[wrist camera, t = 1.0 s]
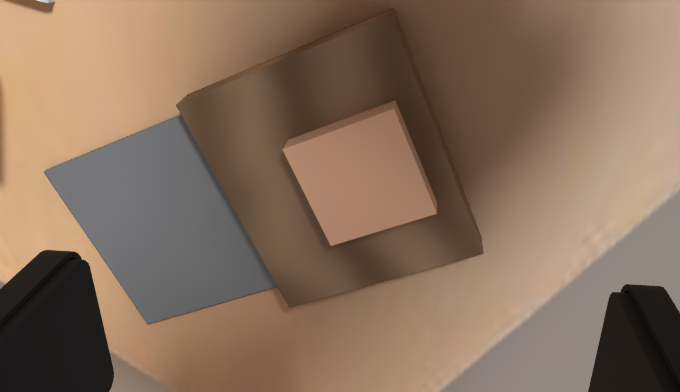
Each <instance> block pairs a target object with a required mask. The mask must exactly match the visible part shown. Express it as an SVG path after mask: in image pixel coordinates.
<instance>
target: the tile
mask: <svg viewBox="0 0 680 392" xmlns="http://www.w3.org/2000/svg"><path fill="white" fill-rule="evenodd" d="M282 150H283V152H284V154H285V156H286V158H287V160H288V162H289V164H290V166H291V168H292V170H293V172H294V174H295V176H296V178H297V180H298V182H299V184H300V186H301V188H302V190H303V192H304V194H305V196H306V198H307V200H308V202H309V204H310V206H311V208H312V210H313V212H314V214H315V216H316V218H317V220H318V222H319V224H320V226H321V228H322V230H323V232H324V234H325V236H326V238H327V240H328V241H329V243H330V245H331V246H332V245H336V244H339V243H342V242H346V241H349V240H352V239H355V238H359V237H362V236H365V235H369V234H372V233H375V232H378V231H382V230H385V229H388V228H392V227H395V226H398V225H401V224H405V223H408V222H411V221H415V220H418V219H421V218H424V217H428V216H431V215H434V214H437V201H436V198H435V196H434V193H433V191H432V189H431V186H430V184H429V181H428V179H427V176H426V174H425V171H424V169H423V166H422V164H421V161H420V159H419V157H418V154H417V152H416V149H415V147H414V144H413V142H412V139H411V137H410V134H409V132H408V130H407V127H406V125H405V122H404V120H403V117H402V115H401V112H400V110H399V107H398V105H397V103H396V100H394V101H391V102H389V103H386V104H383V105H381V106H378V107H375V108H373V109H370V110H367V111H365V112H362V113H359V114H356V115H354V116H351V117H348V118H346V119H343V120H340V121H338V122H335V123H332V124H329V125H327V126H324V127H321V128H319V129H316V130H313V131H311V132H308V133H305V134H303V135H300V136H297V137H294V138H292V139H289V140H287V142H286V144H285V146H284V148H283V149H282Z"/></svg>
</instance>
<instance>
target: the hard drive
mask: <svg viewBox="0 0 680 392" xmlns="http://www.w3.org/2000/svg"><path fill="white" fill-rule="evenodd" d="M36 1H40V2H44V3H52V2H55V0H36Z"/></svg>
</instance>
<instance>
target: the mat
mask: <svg viewBox="0 0 680 392" xmlns="http://www.w3.org/2000/svg"><path fill="white" fill-rule="evenodd" d="M44 173H45V175H46V176H47V178H48V179H49V181H50V182H51V184H52V185H53V187H54V188H55V189H56V191H57V192H58V194H59V195H60V197H61V198H62V200H63V201H64V203H65V204H66V206H67V207H68V208H69V210H70V211H71V213H72V214H73V216H74V217H75V219H76V220H77V222H78V223H79V225H80V226H81V227H82V229H83V230H84V232H85V233H86V235H87V236H88V238H89V239H90V241H91V242H92V244H93V245H94V246H95V248H96V249H97V251H98V252H99V254H100V255H101V257H102V258H103V260H104V261H105V263H106V264H107V266H108V267H109V268H110V270H111V271H112V273H113V274H114V276H115V277H116V279H117V280H118V282H119V283H120V285H121V286H122V287H123V289H124V290H125V292H126V293H127V295H128V296H129V298H130V299H131V301H132V302H133V304H134V305H135V306H136V308H137V309H138V311H139V312H140V314H141V315H142V317H143V318H144V320H145V321H146V323H147V324H150V323H153V322H157V321H160V320H164V319H167V318H171V317H174V316H177V315H181V314H184V313H188V312H191V311H195V310H198V309H201V308H205V307H208V306H212V305H215V304H219V303H222V302H225V301H229V300H232V299H236V298H239V297H243V296H246V295H250V294H253V293H256V292H260V291H263V290H267V289H270V288H274V287H277V285H276V283H275V281H274V279H273V277H272V276H271V274H270V272H269V270H268V268H267V267H266V265H265V263H264V261H263V260H262V258H261V256H260V254H259V252H258V251H257V249H256V247H255V245H254V243H253V242H252V240H251V238H250V236H249V235H248V233H247V231H246V229H245V227H244V226H243V224H242V222H241V220H240V218H239V217H238V215H237V213H236V211H235V210H234V208H233V206H232V204H231V202H230V201H229V199H228V197H227V195H226V193H225V192H224V190H223V188H222V186H221V185H220V183H219V181H218V179H217V177H216V176H215V174H214V172H213V170H212V168H211V167H210V165H209V163H208V161H207V160H206V158H205V156H204V154H203V152H202V151H201V149H200V147H199V145H198V144H197V142H196V140H195V138H194V136H193V135H192V133H191V131H190V129H189V127H188V126H187V124H186V122H185V120H184V119H183V117H182V115H179V116H176V117H174V118H171V119H169V120H167V121H164V122H162V123H159V124H157V125H154V126H152V127H149V128H147V129H145V130H142V131H140V132H137V133H135V134H132V135H130V136H127V137H125V138H123V139H120V140H118V141H115V142H113V143H110V144H108V145H105V146H103V147H101V148H98V149H96V150H93V151H91V152H88V153H86V154H84V155H81V156H79V157H76V158H74V159H71V160H69V161H66V162H64V163H62V164H59V165H57V166H54V167H52V168H49V169H47V170H45V171H44Z"/></svg>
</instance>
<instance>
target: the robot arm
mask: <svg viewBox="0 0 680 392" xmlns="http://www.w3.org/2000/svg"><path fill="white" fill-rule="evenodd" d="M113 377H114V371H113V366H112V361H111V357H110V353H109V348H108V344H107V340H106V335H105V331H104V327H103V322H102V318H101V314H100V309H99V305H98V301H97V296H96V292H95V287H94V283H93V279H92V274H91V270H90V266H89V264H88V263H87V261H85V260H82V259H81V257H80V255H79V254H78V253H76V252H71V251H54V250H45V251H42V252H41V253H39V254H38V255H37V256H36V257H35V258H34V259H33V260H32V261H30V262H29V263H28V264H27V265H26V266H25V267H24V268H23V269H22V270H21V271H20V272H18V273H17V274H16V275H15V276H14V277H13V278H12V279H11V280H10V281H9V282H8V283H7V284H5V285H4V286H3V287H2V288H1V289H0V392H109V391H110V389H111V386H112V383H113ZM588 392H680V313H679V311H678V310H677V308H676V306H675V304H674V303H673V301H672V300H671V298H670V296H669V295H668V293H667V291H666V290H665V289H664V288H663V287H660V286H646V285H645V286H644V285H629V284H626V285H624V286H623V288H622V290H621V293H619V292H613V293H612V294H611V295H610V297H609V301H608V305H607V310H606V314H605V319H604V323H603V328H602V332H601V337H600V341H599V346H598V351H597V355H596V359H595V364H594V369H593V373H592V377H591V382H590V387H589V391H588Z"/></svg>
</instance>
